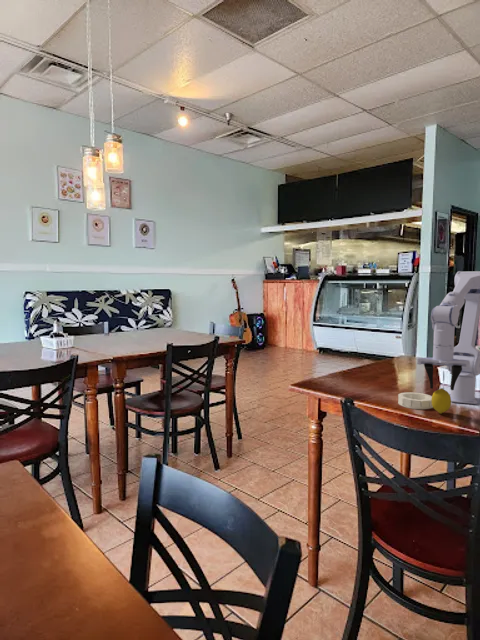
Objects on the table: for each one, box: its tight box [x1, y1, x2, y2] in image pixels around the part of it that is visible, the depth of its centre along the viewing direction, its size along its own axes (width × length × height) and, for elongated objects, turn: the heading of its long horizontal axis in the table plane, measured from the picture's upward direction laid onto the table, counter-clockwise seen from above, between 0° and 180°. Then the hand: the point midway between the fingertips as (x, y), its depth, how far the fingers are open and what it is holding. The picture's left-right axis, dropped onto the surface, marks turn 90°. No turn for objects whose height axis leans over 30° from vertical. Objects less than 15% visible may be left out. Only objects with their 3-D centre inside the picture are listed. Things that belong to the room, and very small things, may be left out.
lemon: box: [431, 387, 452, 415], centre depth 137 cm, size 6×6×8 cm
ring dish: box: [397, 391, 434, 410], centre depth 147 cm, size 11×11×3 cm
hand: (441, 388), depth 136 cm, fingers open, 5 cm apart
